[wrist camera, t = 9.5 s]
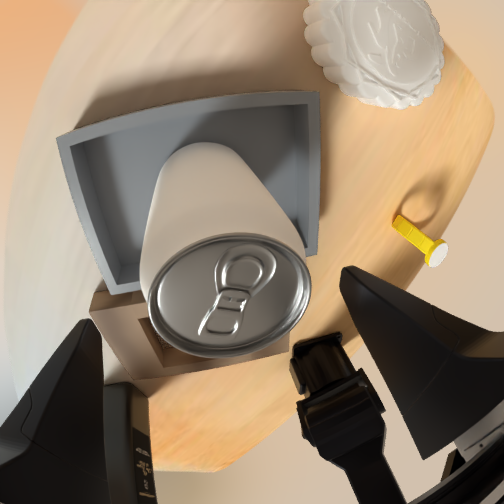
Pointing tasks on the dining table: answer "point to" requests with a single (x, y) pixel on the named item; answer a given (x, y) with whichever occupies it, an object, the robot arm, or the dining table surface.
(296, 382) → the robot arm
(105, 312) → the holder
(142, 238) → the tray
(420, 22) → the mooncake
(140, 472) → the wine bottle
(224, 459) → the dining table surface
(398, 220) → the watch
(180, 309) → the can
